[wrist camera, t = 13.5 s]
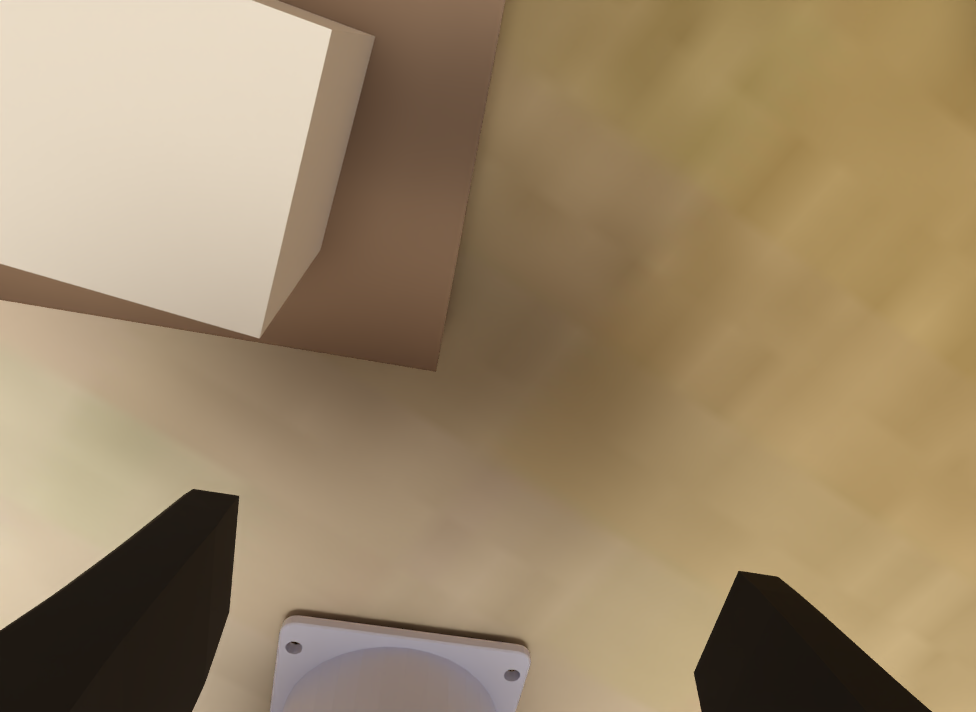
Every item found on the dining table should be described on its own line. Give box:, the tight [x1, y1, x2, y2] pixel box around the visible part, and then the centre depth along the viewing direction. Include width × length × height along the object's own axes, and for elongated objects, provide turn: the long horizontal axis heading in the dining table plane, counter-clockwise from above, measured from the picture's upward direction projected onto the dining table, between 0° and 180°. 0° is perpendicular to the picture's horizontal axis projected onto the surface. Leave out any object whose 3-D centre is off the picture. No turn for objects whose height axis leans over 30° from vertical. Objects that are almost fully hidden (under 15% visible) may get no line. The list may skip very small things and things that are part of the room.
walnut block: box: [0, 0, 505, 371], centre depth 15 cm, size 10×10×3 cm
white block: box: [0, 0, 375, 339], centre depth 12 cm, size 4×4×5 cm
